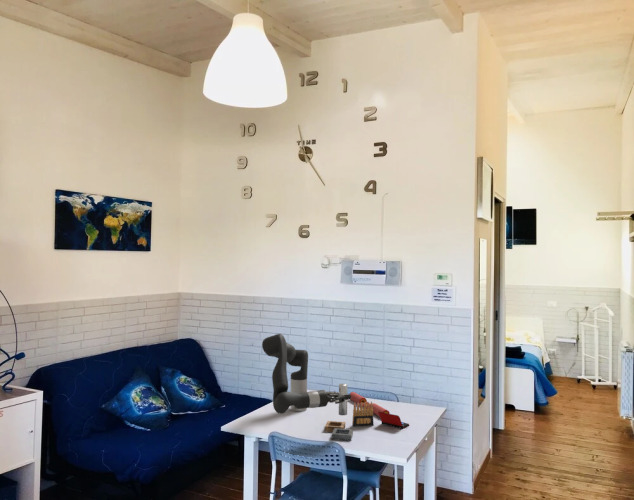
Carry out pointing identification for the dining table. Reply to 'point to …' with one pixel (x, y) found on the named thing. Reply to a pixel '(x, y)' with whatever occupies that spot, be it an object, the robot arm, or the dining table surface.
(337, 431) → the steel bore block
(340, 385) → the steel axle
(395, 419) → the handheld game console
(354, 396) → the blood vessel
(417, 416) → the dining table surface
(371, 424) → the ammunition clip
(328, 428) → the walnut socket block
